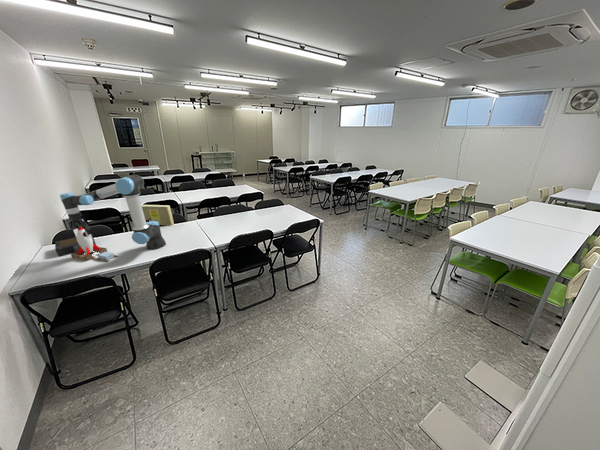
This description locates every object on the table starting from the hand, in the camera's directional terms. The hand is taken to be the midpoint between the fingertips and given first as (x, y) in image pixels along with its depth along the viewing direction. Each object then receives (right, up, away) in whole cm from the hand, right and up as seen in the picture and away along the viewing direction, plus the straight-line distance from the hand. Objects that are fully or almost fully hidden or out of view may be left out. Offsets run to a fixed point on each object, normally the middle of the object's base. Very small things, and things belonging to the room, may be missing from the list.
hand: (84, 237), depth 191 cm
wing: (+18, -17, +1) cm, 25 cm away
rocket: (0, -15, +6) cm, 16 cm away
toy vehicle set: (+18, +11, +70) cm, 73 cm away
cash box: (-21, -11, +17) cm, 30 cm away
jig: (+8, -16, +4) cm, 18 cm away
